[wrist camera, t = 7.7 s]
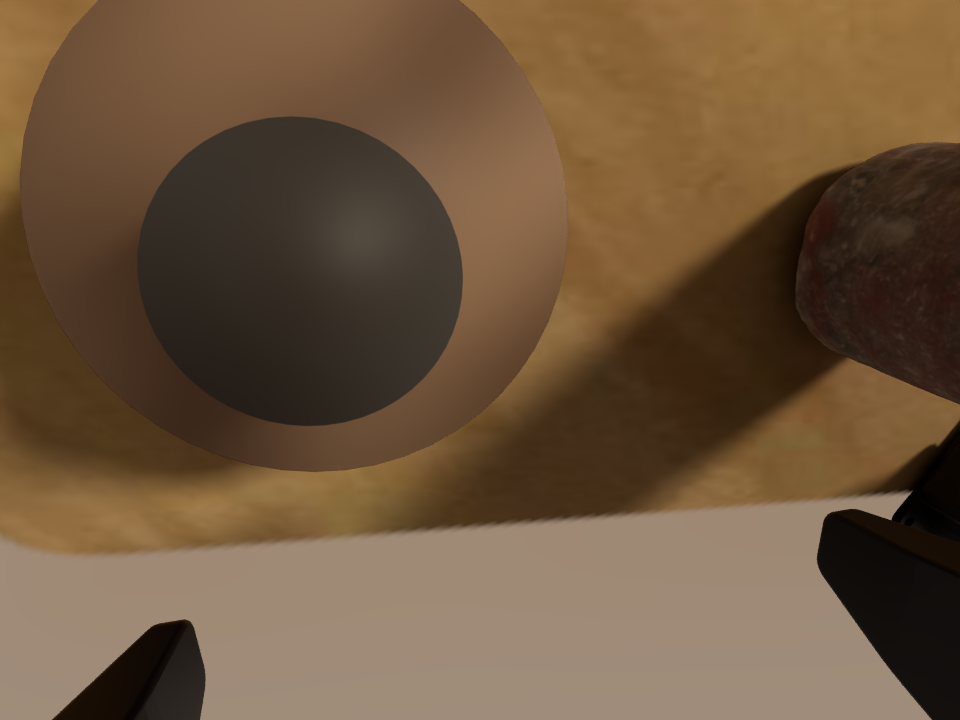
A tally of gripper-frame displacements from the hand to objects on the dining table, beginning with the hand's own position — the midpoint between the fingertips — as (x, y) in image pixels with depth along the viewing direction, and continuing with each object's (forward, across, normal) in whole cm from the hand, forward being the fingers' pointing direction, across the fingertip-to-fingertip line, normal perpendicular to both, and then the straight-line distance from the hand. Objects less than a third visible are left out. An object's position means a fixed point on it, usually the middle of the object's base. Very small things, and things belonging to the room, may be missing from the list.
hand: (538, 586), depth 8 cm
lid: (+6, +3, -4) cm, 8 cm away
